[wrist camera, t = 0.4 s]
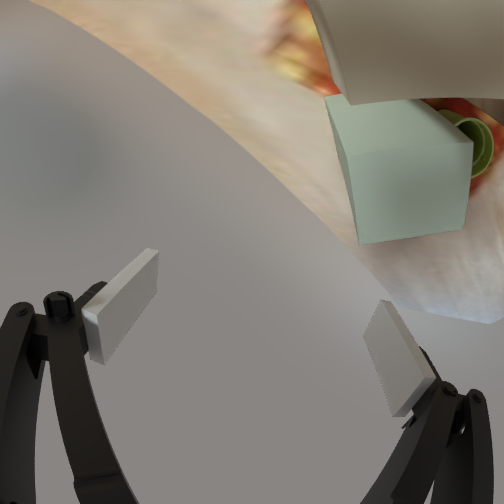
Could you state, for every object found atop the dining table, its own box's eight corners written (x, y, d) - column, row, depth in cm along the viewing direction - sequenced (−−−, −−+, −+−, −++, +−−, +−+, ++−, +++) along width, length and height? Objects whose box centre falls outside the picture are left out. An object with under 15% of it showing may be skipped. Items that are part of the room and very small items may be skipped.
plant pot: (454, 89, 27) (483, 107, 21) (473, 137, 32) (499, 163, 26) (410, 114, 32) (433, 136, 27) (433, 160, 37) (454, 189, 31)
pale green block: (323, 97, 34) (346, 156, 20) (401, 86, 30) (473, 142, 16) (338, 156, 40) (359, 245, 26) (408, 146, 36) (462, 229, 23)
